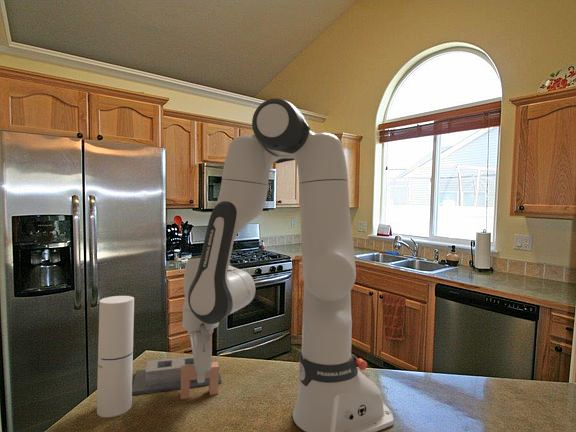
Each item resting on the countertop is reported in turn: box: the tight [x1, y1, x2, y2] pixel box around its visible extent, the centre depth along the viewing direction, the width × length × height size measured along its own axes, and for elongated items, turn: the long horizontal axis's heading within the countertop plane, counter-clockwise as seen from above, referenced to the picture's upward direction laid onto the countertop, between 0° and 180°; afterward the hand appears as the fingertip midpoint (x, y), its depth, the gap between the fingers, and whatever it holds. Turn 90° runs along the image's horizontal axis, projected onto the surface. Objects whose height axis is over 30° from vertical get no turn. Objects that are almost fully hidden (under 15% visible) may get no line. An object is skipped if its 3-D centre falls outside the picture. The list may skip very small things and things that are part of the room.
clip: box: [179, 361, 220, 400], centre depth 85 cm, size 9×3×7 cm, turn 109°
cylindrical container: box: [96, 295, 135, 418], centre depth 78 cm, size 7×7×25 cm
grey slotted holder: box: [132, 355, 222, 396], centre depth 93 cm, size 22×12×4 cm, turn 109°
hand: (199, 374), depth 85 cm, fingers open, 7 cm apart
